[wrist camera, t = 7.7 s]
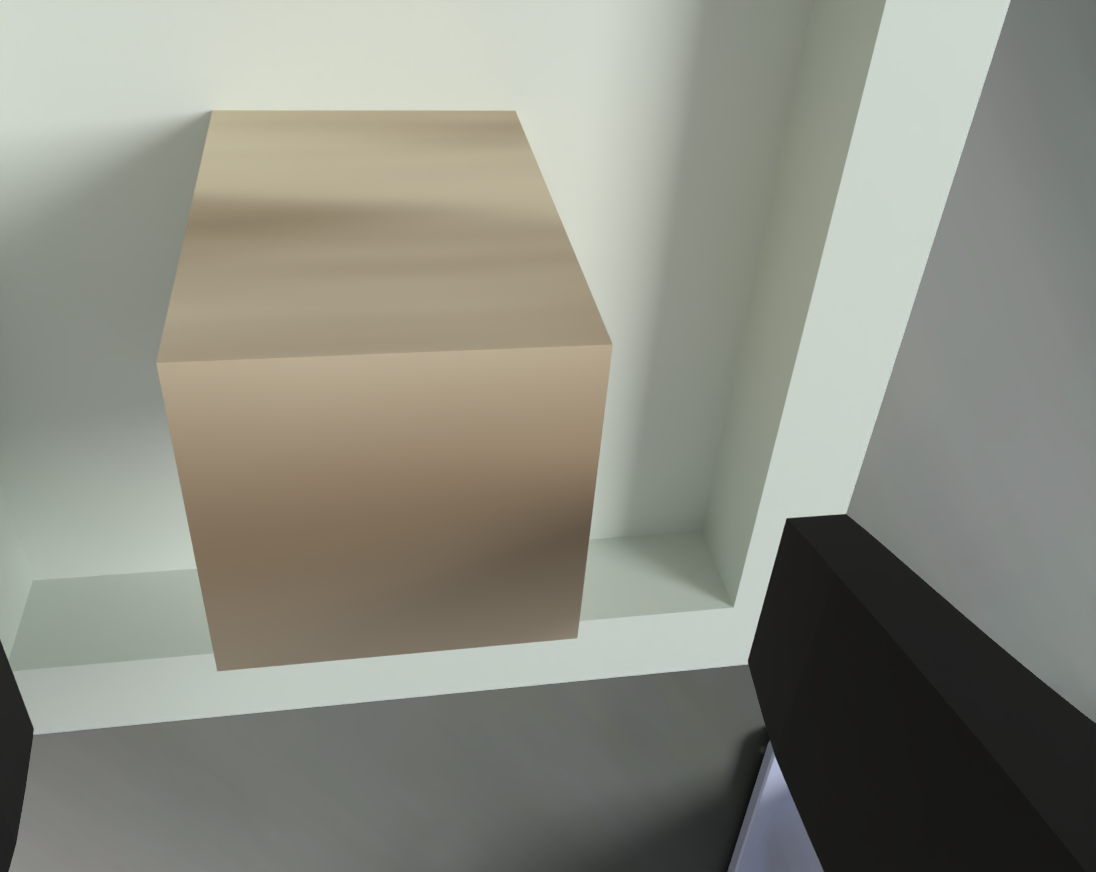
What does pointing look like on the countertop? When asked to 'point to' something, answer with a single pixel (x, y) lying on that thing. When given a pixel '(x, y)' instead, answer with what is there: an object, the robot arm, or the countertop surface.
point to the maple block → (381, 387)
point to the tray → (600, 247)
